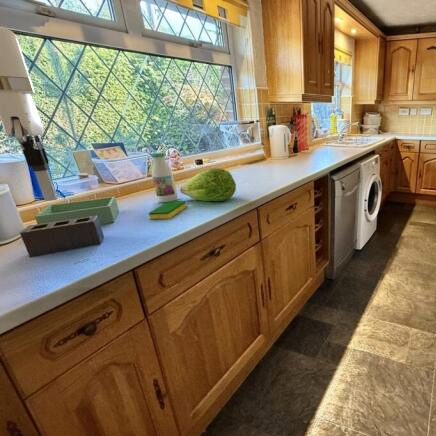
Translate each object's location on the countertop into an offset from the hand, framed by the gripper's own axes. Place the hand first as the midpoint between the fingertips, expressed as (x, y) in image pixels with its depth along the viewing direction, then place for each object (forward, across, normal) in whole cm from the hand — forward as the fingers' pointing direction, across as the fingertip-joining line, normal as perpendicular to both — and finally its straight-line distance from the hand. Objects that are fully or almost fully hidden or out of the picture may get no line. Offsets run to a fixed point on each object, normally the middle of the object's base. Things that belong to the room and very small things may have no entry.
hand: (38, 164), depth 77 cm
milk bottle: (+23, -38, +26) cm, 52 cm away
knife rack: (+23, 0, 0) cm, 23 cm away
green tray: (+23, -25, -1) cm, 34 cm away
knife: (+10, 0, 0) cm, 10 cm away
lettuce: (+23, -28, +41) cm, 55 cm away
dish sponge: (+23, -18, +26) cm, 40 cm away
